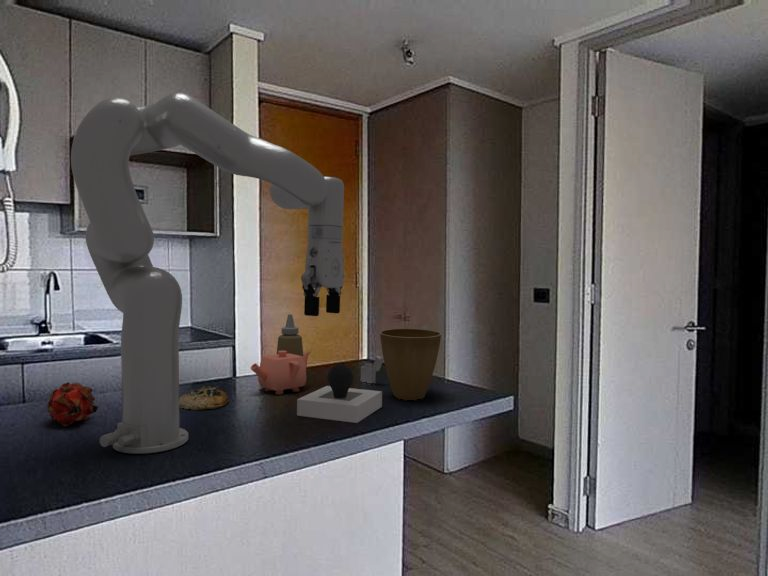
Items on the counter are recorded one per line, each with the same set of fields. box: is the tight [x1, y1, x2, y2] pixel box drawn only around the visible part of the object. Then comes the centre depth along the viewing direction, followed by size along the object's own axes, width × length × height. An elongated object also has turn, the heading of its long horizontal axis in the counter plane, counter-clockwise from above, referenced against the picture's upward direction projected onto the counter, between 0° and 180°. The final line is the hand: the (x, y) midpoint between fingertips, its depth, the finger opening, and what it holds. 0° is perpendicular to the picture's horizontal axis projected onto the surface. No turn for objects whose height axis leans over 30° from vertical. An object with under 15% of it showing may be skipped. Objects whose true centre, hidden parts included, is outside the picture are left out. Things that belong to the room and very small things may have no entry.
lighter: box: [360, 354, 384, 384], centre depth 152 cm, size 7×2×8 cm, turn 48°
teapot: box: [250, 350, 313, 395], centre depth 143 cm, size 14×12×10 cm
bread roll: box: [179, 385, 229, 411], centre depth 129 cm, size 11×11×5 cm
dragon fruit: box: [46, 382, 99, 427], centre depth 114 cm, size 8×8×12 cm
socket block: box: [296, 385, 383, 424], centre depth 124 cm, size 14×14×4 cm
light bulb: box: [327, 363, 354, 401], centre depth 124 cm, size 6×6×10 cm
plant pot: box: [379, 328, 442, 401], centre depth 137 cm, size 15×15×16 cm
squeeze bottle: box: [276, 314, 304, 357], centre depth 156 cm, size 8×8×18 cm
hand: (322, 314), depth 122 cm, fingers open, 9 cm apart
